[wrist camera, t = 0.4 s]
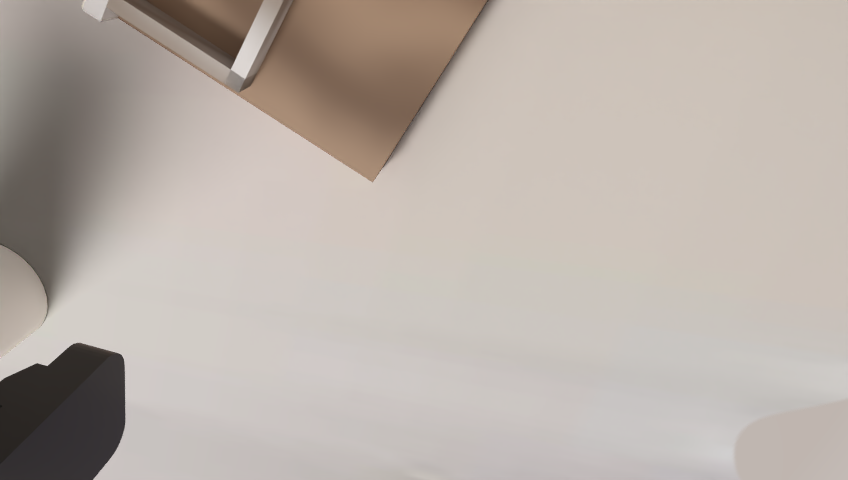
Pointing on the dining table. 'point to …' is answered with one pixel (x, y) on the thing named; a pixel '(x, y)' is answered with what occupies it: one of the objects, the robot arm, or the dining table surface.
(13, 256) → the cylindrical container
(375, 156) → the brown wooden tray
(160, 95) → the dining table surface
